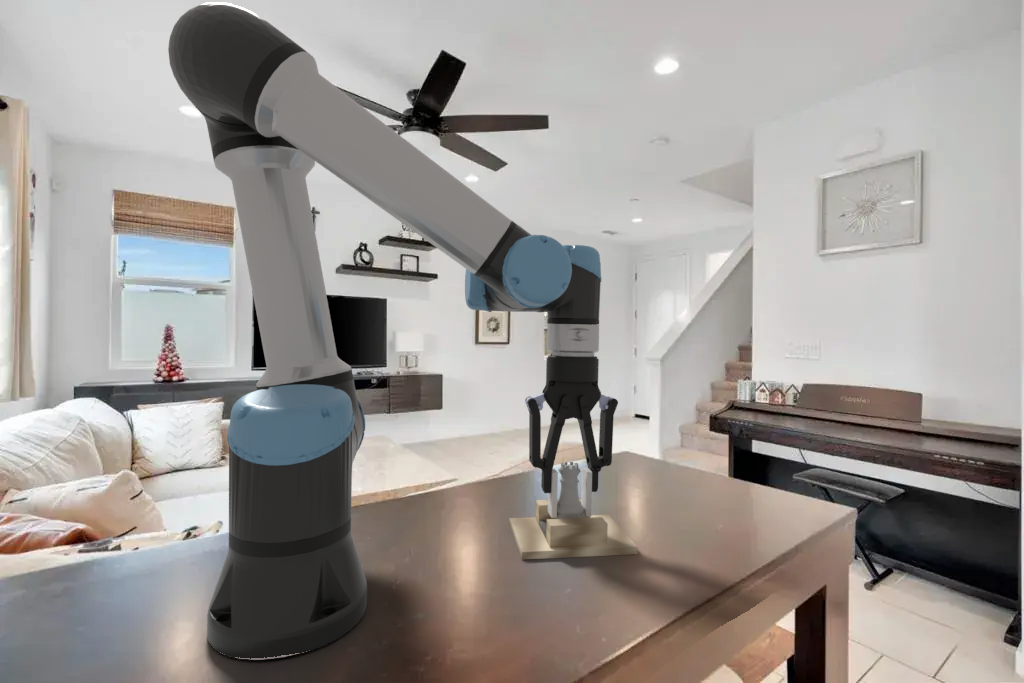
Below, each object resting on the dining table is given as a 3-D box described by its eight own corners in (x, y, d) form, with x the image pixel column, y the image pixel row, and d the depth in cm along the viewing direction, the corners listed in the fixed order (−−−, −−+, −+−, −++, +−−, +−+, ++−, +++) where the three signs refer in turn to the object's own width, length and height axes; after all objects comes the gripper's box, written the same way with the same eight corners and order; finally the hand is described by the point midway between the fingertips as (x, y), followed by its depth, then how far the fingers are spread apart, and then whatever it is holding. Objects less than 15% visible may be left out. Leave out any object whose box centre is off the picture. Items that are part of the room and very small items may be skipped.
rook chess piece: (589, 516, 73) (589, 462, 73) (576, 526, 69) (577, 469, 69) (562, 510, 76) (562, 458, 75) (548, 520, 72) (548, 465, 72)
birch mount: (521, 559, 65) (522, 529, 65) (509, 524, 77) (509, 499, 77) (637, 554, 68) (637, 524, 68) (607, 520, 80) (608, 496, 80)
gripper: (517, 354, 67) (513, 526, 68) (640, 356, 70) (636, 521, 70) (509, 352, 75) (506, 506, 75) (620, 353, 77) (617, 503, 77)
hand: (569, 513), depth 72 cm, fingers closed on rook chess piece, 4 cm apart
